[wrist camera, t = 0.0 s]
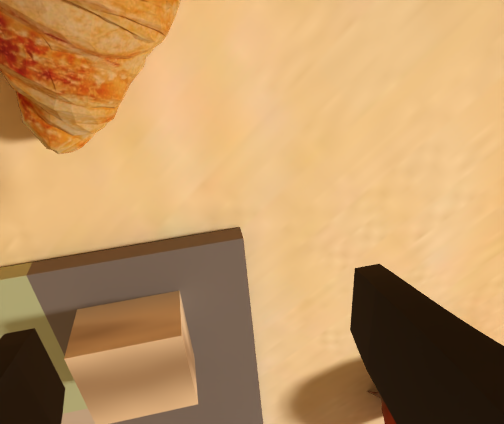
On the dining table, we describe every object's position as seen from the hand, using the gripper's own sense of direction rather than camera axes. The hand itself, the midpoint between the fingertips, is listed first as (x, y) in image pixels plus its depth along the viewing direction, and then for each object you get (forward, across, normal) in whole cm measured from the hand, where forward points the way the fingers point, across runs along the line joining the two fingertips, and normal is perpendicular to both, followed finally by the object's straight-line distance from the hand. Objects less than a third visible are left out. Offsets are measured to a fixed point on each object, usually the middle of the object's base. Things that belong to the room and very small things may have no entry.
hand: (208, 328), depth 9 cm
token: (+9, +4, +9) cm, 13 cm away
